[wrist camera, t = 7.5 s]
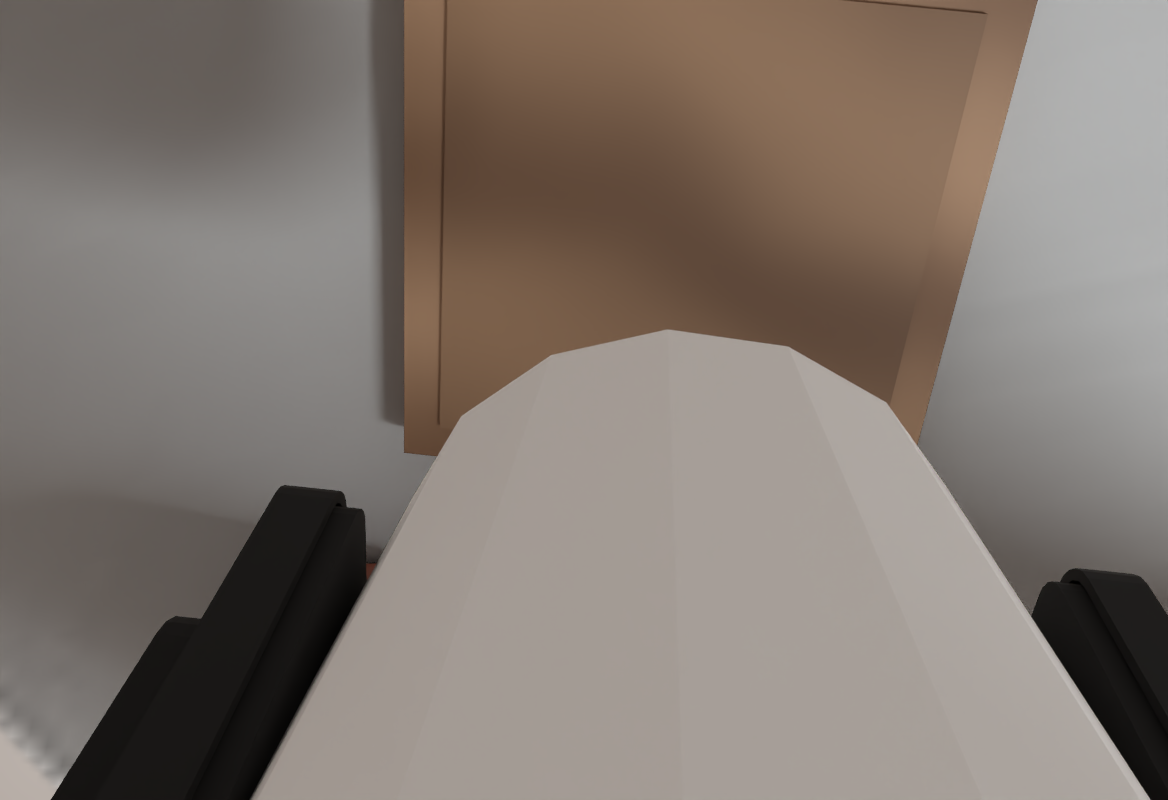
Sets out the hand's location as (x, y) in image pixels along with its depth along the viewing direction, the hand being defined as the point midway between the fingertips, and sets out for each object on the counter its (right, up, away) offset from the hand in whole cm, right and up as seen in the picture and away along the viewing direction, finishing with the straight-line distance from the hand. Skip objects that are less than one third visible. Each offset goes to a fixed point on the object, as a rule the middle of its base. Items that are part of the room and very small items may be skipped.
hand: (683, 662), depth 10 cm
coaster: (+1, +6, +11) cm, 13 cm away
